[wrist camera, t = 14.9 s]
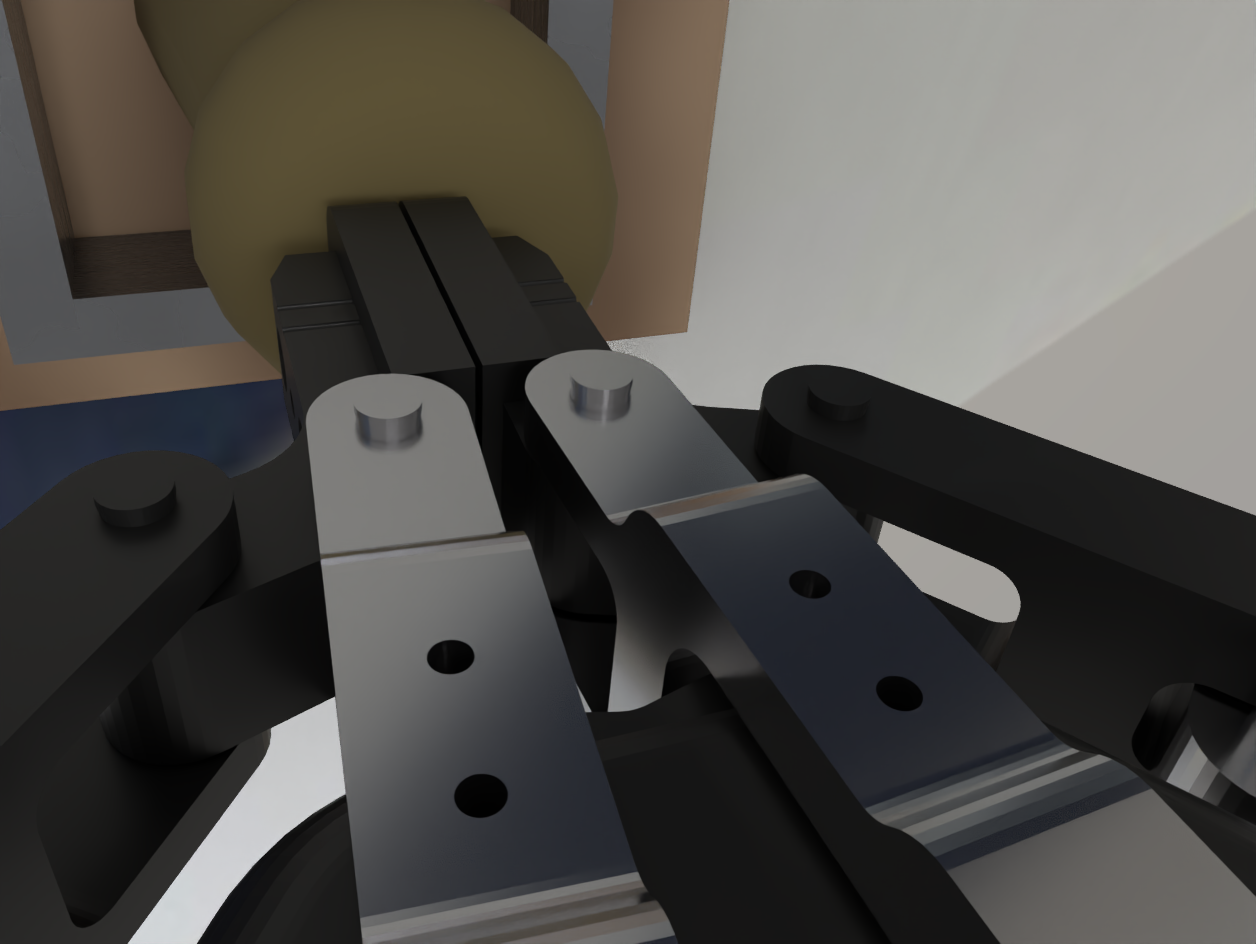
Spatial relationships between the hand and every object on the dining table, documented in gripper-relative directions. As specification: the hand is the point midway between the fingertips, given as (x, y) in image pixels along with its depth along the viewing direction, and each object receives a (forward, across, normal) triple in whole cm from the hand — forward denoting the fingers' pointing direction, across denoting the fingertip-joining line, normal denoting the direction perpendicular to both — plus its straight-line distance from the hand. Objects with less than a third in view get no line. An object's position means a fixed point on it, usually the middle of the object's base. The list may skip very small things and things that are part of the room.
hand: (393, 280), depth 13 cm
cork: (+11, -1, 0) cm, 11 cm away
